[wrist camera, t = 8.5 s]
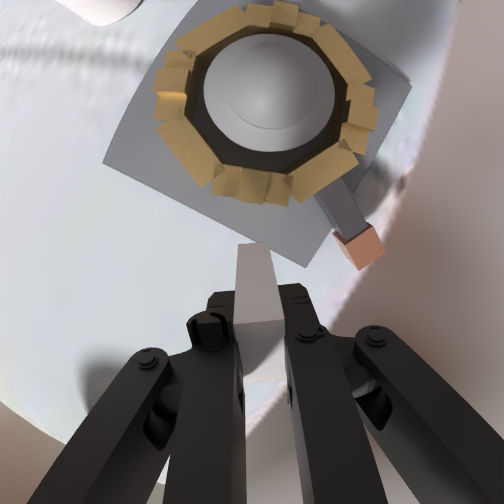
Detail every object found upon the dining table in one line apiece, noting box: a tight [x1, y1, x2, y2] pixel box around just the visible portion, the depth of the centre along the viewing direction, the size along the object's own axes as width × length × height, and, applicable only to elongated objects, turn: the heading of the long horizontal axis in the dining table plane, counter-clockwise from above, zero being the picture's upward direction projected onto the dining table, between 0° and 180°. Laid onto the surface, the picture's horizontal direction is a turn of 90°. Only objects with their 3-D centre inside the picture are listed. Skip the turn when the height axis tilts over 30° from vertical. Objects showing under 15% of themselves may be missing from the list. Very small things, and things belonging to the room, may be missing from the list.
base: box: [102, 0, 412, 268], centre depth 16 cm, size 20×20×8 cm
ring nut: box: [153, 0, 385, 271], centre depth 17 cm, size 21×14×4 cm, turn 35°
